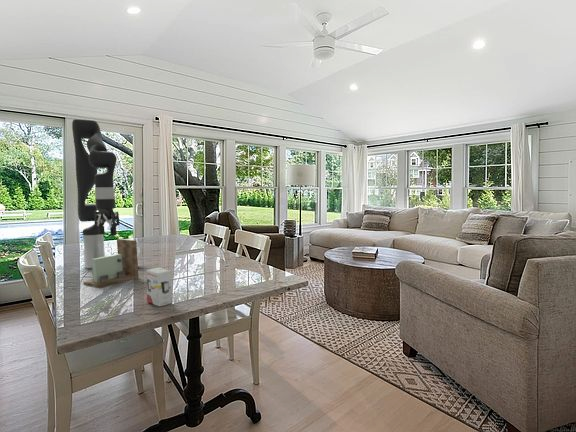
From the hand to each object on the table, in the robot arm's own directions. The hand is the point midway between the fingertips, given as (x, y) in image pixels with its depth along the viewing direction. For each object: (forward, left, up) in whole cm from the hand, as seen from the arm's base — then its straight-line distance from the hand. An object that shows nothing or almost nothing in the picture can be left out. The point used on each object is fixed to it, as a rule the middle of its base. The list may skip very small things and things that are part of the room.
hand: (107, 234), depth 149 cm
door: (+1, -1, -19) cm, 19 cm away
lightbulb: (-15, +23, -21) cm, 35 cm away
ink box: (+44, -10, -21) cm, 49 cm away
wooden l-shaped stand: (+1, 0, -21) cm, 21 cm away
